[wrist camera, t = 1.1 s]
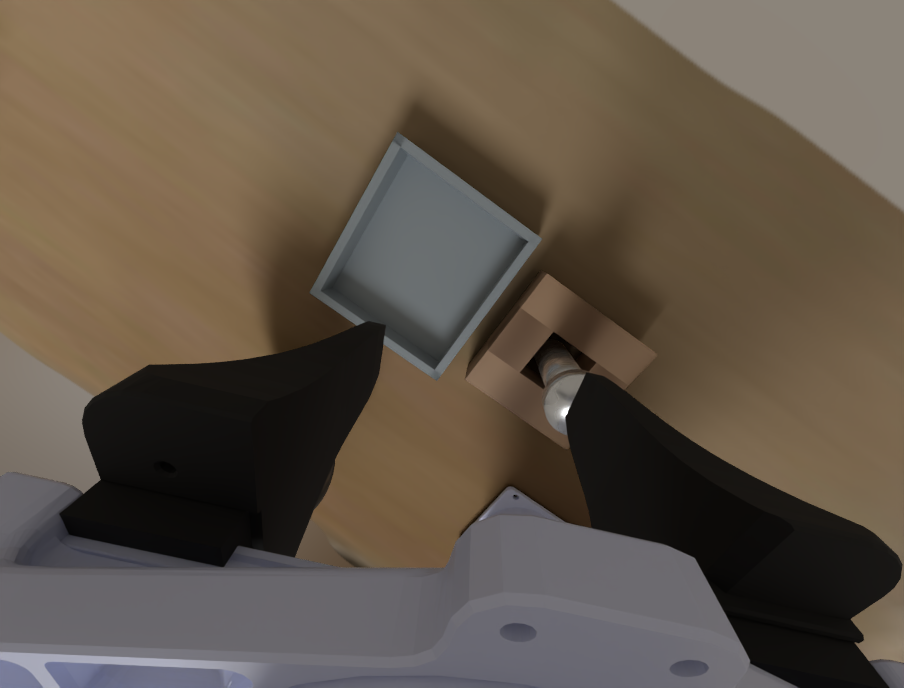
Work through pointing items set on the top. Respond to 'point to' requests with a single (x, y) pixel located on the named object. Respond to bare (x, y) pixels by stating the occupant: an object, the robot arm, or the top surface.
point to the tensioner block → (528, 329)
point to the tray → (422, 258)
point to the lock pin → (558, 381)
